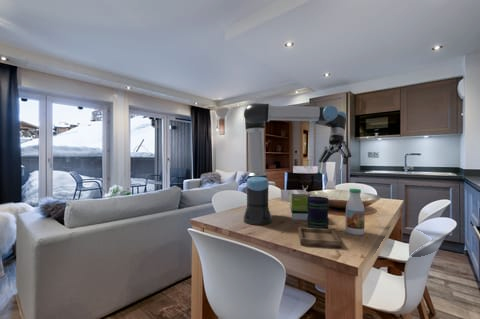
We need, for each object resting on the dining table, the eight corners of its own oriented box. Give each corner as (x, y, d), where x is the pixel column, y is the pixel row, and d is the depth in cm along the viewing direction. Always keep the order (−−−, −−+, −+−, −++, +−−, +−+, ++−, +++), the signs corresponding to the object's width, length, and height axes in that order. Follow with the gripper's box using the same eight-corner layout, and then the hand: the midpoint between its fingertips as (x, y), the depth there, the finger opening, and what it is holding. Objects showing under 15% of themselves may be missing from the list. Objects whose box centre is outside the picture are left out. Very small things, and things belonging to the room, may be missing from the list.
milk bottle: (341, 231, 105) (342, 188, 105) (353, 229, 108) (353, 187, 108) (356, 236, 98) (356, 190, 98) (368, 234, 101) (368, 189, 101)
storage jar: (302, 228, 110) (302, 197, 109) (315, 224, 115) (315, 195, 115) (320, 233, 101) (320, 200, 101) (333, 230, 107) (333, 198, 107)
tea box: (289, 213, 139) (289, 189, 139) (306, 214, 138) (306, 189, 138) (291, 219, 124) (292, 193, 124) (310, 220, 123) (310, 193, 123)
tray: (300, 245, 88) (300, 238, 88) (298, 232, 103) (298, 227, 103) (341, 248, 85) (341, 241, 85) (333, 235, 100) (333, 229, 100)
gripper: (361, 133, 118) (357, 171, 111) (324, 144, 140) (319, 176, 133) (351, 127, 115) (347, 166, 109) (315, 140, 137) (310, 172, 131)
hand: (332, 172), depth 121 cm, fingers open, 13 cm apart
